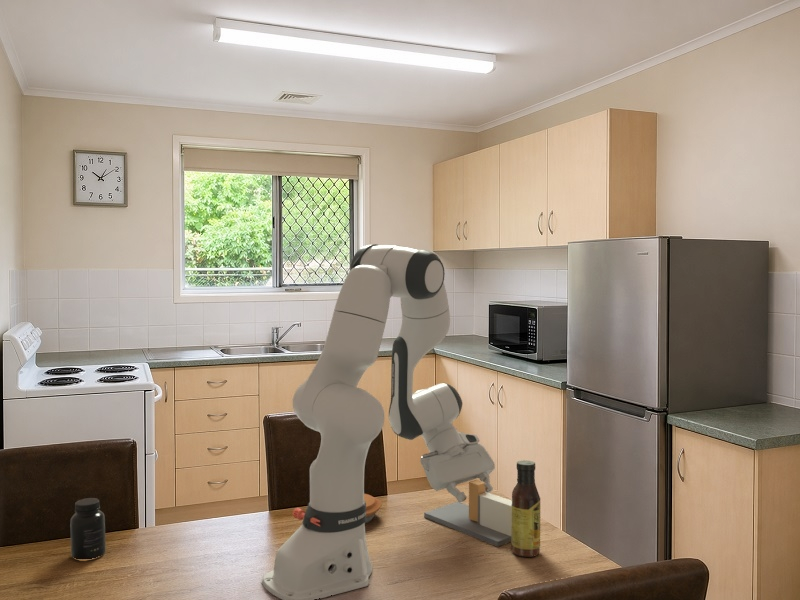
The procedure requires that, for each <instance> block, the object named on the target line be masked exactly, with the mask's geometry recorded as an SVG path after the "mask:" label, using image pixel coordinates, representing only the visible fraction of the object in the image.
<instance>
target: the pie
mask: <svg viewBox="0 0 800 600" xmlns="http://www.w3.org/2000/svg"><path fill="white" fill-rule="evenodd" d="M364 501H365V502H366V521H365V523H366V524H368V523H370V522H371V521H372V520H373V518H375V515H376V514H377V512H378V511H379V510H380V509H381V508H382V506H383V505H382V501H381V500H380V499H378V498H376V497H374V496H372V495H370V494H368V493H364Z"/></svg>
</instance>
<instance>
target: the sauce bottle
mask: <svg viewBox="0 0 800 600" xmlns="http://www.w3.org/2000/svg"><path fill="white" fill-rule="evenodd" d="M516 470H517V472H516V473H517V478H516V482H517V483H516V484H515V487H513V490H512V492H511V499H512V510H511V542H510V543H511V552H512V553H514V554H515V555H516V556H519V557H524V558H531V557H532V558H533V557H535V556H538V555H539V553H540V547H541V497H540V494H539V492H538V489H537V484H536V480H535V478H536V477H535V471H536V462H534V461H532V460H525V459H523V460H518V461H517V462H516Z"/></svg>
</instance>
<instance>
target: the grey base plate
mask: <svg viewBox="0 0 800 600" xmlns="http://www.w3.org/2000/svg"><path fill="white" fill-rule="evenodd" d="M511 510H512V500H511V499H509V498H507V497H506V498H505V497H502V496H499V495H497V494H493V493H491V492H490V493H489V492H486V493H483V494H480V495H478V522H476V521H474V520H471V519H469V504H466V503H464V502H458V501H456V502H455V501H454V502H451V503H449V504H446V505H444V506H443V505H442V506H440V507H437V508H434V509H431V510H428V511H424V513H423V514H424V515H423V518H425V519H427V520H430V521H432V522H434V523H437V524H440V525H442V526H445V527H447V528H450V529H451V530H455V531H458V532H460V533H462V534H465V535H467V536H470V537H473V538H475V539H477V540H479V541H482V542H485V543H487V544H490V545H492V546H494V547H499V548H500V547H502V546H504V545H506V544H508V543H511Z"/></svg>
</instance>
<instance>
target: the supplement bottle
mask: <svg viewBox="0 0 800 600" xmlns="http://www.w3.org/2000/svg"><path fill="white" fill-rule="evenodd" d="M100 509H101V506H100V499H98V498H95V497H88V498H83V499H82V498H81V499H79V500H77V501H76V502H75V504H74V514H73V515H72V516H71V518H70V525H69V527H70V553H71V555H72V556H71V558H72V557H74V558H76V559H92V558H96V557H98V556H101V555H103V554H105V553H106V549H107V547H106V518H105V513H104V512H103V511H102V510H100ZM101 557H102V556H101Z"/></svg>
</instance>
